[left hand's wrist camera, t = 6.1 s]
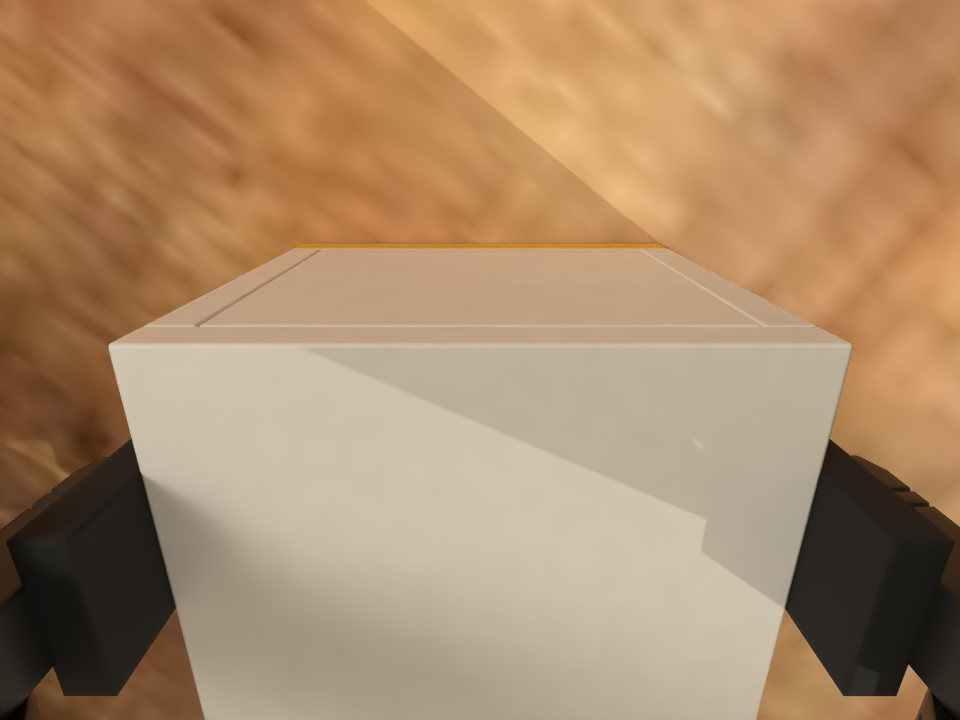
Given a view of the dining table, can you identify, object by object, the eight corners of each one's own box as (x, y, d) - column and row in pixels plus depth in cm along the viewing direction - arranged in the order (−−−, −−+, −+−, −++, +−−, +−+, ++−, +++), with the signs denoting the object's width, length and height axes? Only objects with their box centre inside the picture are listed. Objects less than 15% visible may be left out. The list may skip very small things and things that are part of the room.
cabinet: (615, 624, 21) (703, 930, 13) (344, 624, 21) (257, 930, 13) (660, 243, 16) (857, 344, 8) (300, 243, 16) (103, 343, 8)
